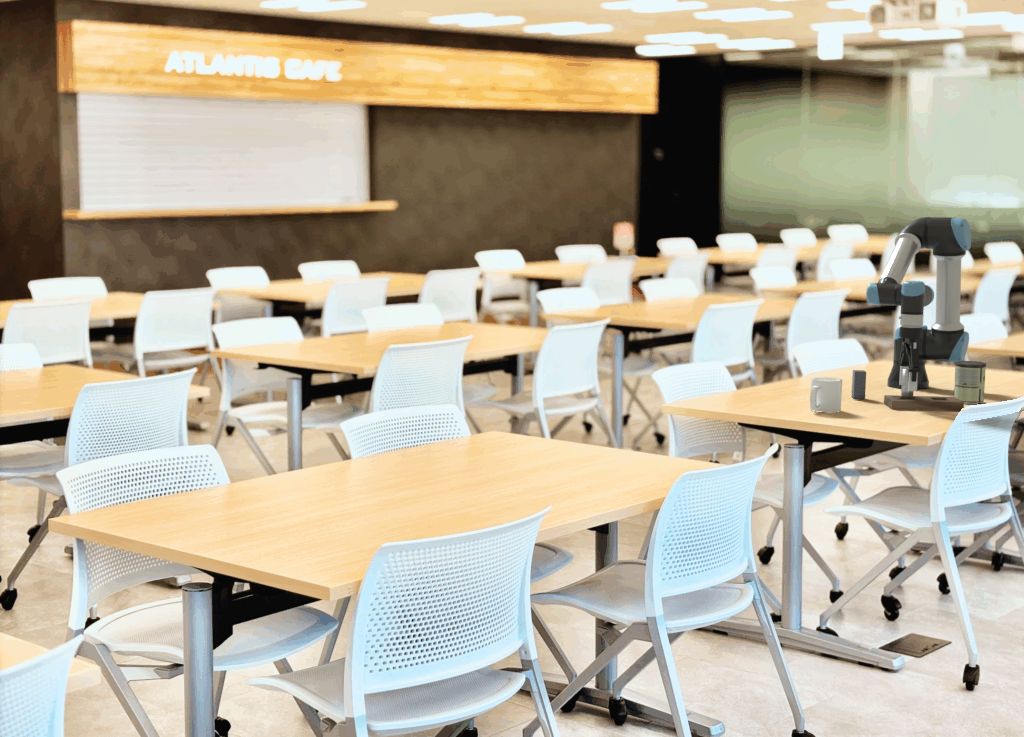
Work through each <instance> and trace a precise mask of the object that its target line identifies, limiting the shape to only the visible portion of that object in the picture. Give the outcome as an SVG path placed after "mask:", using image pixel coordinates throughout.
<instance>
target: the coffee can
mask: <svg viewBox="0 0 1024 737" xmlns="http://www.w3.org/2000/svg"><path fill="white" fill-rule="evenodd" d="M954 363H955V371H954V386H953V387H954V390H953V391H954V392H953V397H956V398H958V399H959V400H961V401H963V402H964V405H979V404H978V403H983V404H984V403H985V402H984V401H985V389H986V388H985V386H986V371H987V370H986V368H987V363H986V362H982V361H976V360H970V361H969V360H962V361H958V362H954Z"/></svg>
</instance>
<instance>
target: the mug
mask: <svg viewBox="0 0 1024 737" xmlns="http://www.w3.org/2000/svg"><path fill="white" fill-rule="evenodd" d="M810 380H811V382H810V393H809V394H810V395H809V410H810V409H811V410H815V411H822V412H838V411H842V397H843V396H842V392H843V391H842V389H843V379H841V378H837V377H825V376H824V377H822V376H821V377H817V376H816V377H812V378H811V379H810Z"/></svg>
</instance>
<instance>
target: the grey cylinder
mask: <svg viewBox="0 0 1024 737" xmlns="http://www.w3.org/2000/svg"><path fill="white" fill-rule="evenodd" d="M908 370H909V369H903V371H902V388H901V395H900V396H901V399H908V400H913V396H914V393H915V391H908V386H909V372H908Z"/></svg>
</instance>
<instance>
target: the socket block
mask: <svg viewBox="0 0 1024 737" xmlns="http://www.w3.org/2000/svg"><path fill="white" fill-rule="evenodd" d="M883 396H884V397H883V404H884V405H885V406H886V407H888V408H889V409H890V410H905V411H906V410H908V411H946V412H947V411H948V412H949V411H950V412H951V411H952V412H961V411H960V410H961V409H962V408H964V407H965V404H964V402H963V401H961V400H959V399H958V398H956V397H954V396H934V395H931V396H930V395H927V396H926V395H913V400H908V399H901V395H897V394H896V395H894V394H890V395H889V394H887V395H886V394H884V395H883Z"/></svg>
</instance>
